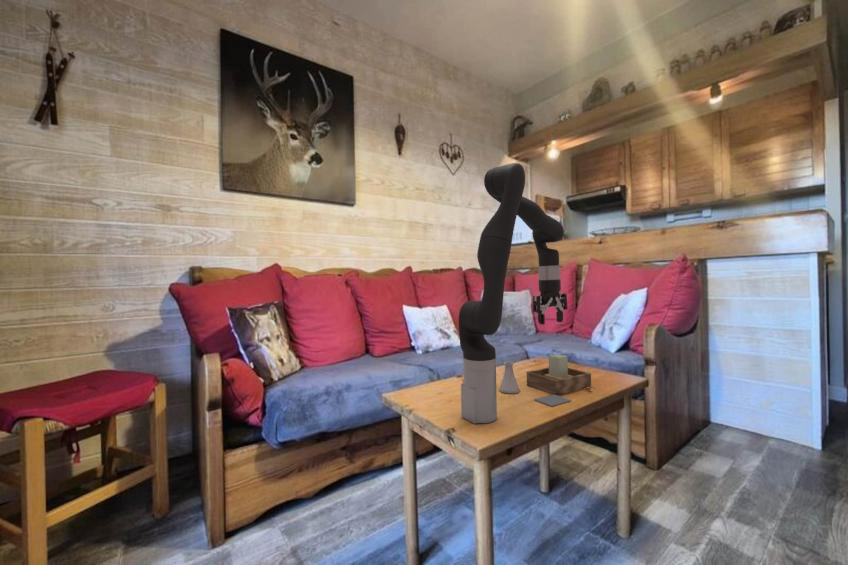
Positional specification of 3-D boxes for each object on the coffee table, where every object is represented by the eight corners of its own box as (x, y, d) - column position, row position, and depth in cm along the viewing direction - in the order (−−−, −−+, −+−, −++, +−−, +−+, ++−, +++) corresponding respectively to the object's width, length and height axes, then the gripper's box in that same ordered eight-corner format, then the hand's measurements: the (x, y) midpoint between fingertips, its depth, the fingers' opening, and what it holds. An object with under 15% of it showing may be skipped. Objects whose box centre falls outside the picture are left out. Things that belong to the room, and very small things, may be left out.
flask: (518, 387, 128) (517, 360, 128) (521, 394, 121) (521, 365, 121) (497, 387, 129) (497, 360, 129) (499, 394, 122) (499, 365, 122)
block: (559, 377, 126) (558, 357, 126) (549, 374, 130) (548, 355, 129) (567, 375, 128) (567, 356, 128) (557, 373, 132) (557, 354, 132)
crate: (558, 396, 119) (558, 381, 118) (526, 385, 131) (526, 371, 131) (591, 387, 127) (590, 373, 127) (558, 378, 139) (558, 365, 139)
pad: (551, 407, 109) (551, 405, 109) (534, 400, 115) (534, 399, 115) (571, 401, 114) (571, 400, 114) (553, 395, 120) (553, 394, 120)
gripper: (541, 279, 123) (543, 326, 124) (572, 277, 129) (573, 322, 130) (526, 279, 130) (528, 324, 130) (556, 277, 136) (557, 320, 136)
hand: (550, 323), depth 130 cm, fingers open, 8 cm apart
